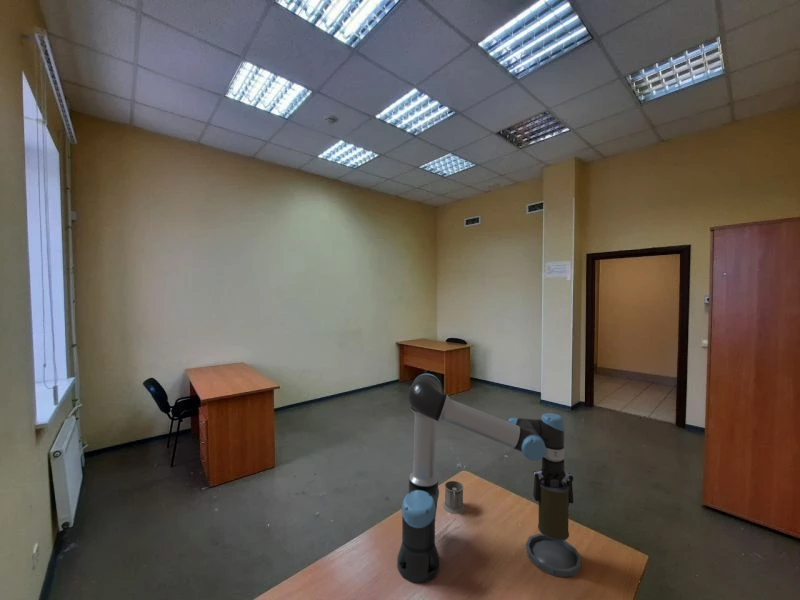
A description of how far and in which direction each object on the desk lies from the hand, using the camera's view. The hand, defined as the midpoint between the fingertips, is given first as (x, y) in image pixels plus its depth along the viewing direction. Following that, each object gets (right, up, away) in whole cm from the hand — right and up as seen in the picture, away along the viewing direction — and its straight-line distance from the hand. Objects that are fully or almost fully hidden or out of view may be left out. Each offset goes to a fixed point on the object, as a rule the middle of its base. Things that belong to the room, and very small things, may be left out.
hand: (553, 519), depth 122 cm
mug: (-32, -14, +27) cm, 44 cm away
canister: (0, -4, 0) cm, 4 cm away
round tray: (0, -14, 0) cm, 14 cm away
